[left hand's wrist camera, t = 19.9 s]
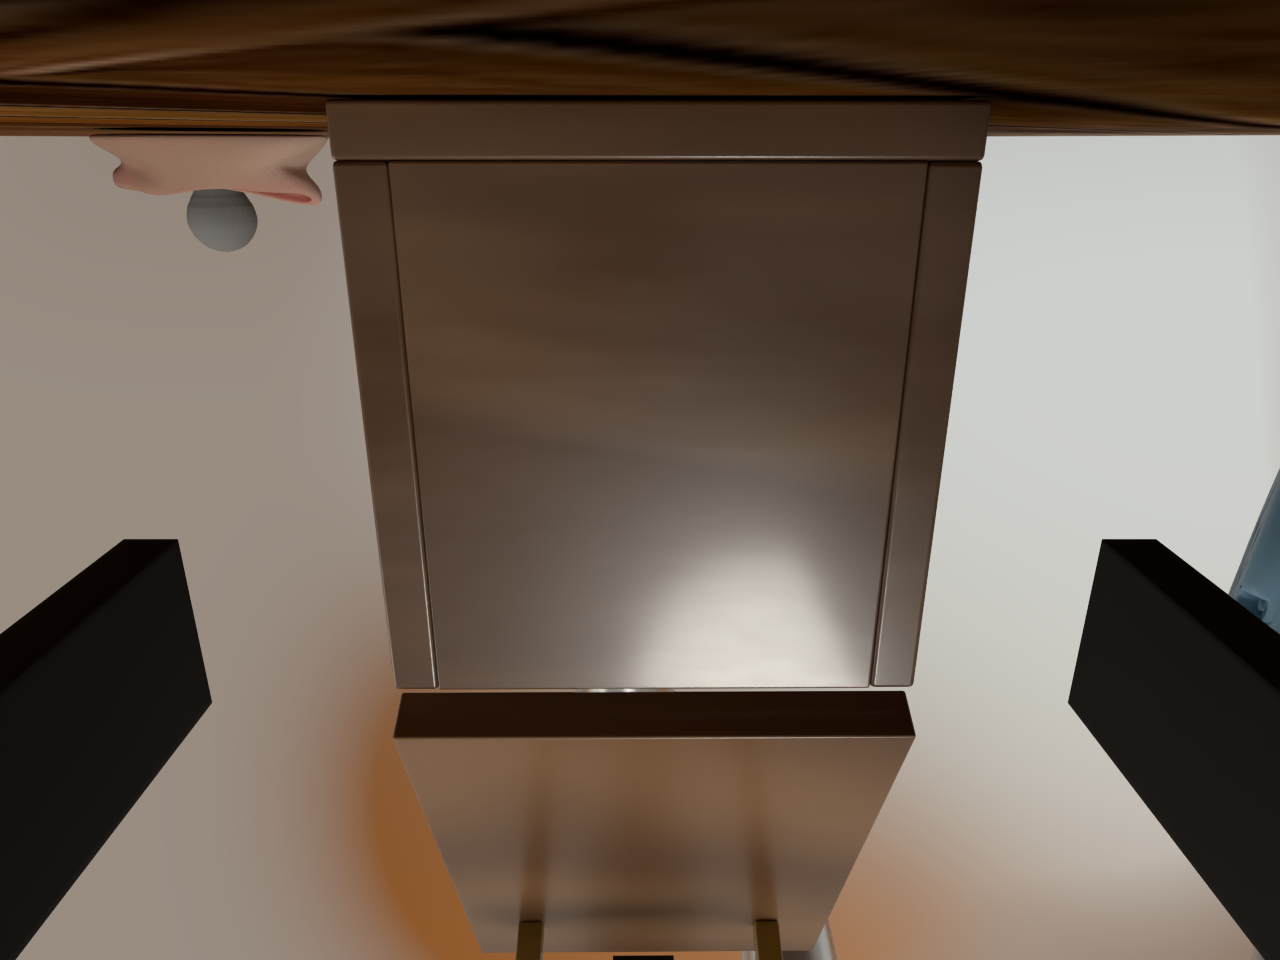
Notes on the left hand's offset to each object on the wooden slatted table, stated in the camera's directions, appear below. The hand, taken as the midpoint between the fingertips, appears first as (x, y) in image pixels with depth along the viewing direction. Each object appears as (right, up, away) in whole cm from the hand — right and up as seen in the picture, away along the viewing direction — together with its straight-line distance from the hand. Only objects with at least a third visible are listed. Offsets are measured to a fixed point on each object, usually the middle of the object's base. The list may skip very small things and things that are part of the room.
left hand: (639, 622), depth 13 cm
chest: (0, +10, +7) cm, 13 cm away
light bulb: (-39, +33, +67) cm, 84 cm away
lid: (0, -7, +10) cm, 13 cm away
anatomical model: (-23, +21, +34) cm, 46 cm away
